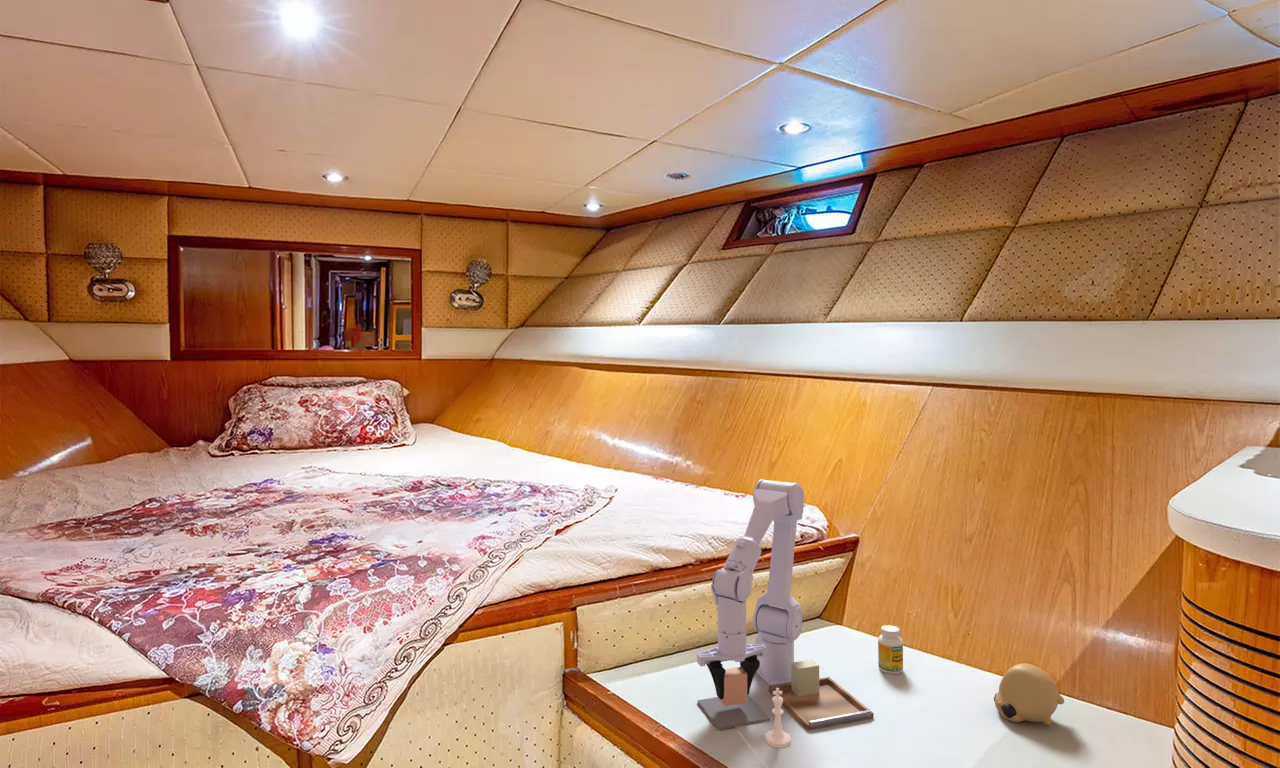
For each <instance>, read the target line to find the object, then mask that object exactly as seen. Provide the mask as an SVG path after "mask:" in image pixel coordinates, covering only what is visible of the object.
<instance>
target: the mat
mask: <svg viewBox="0 0 1280 768" xmlns="http://www.w3.org/2000/svg"><path fill="white" fill-rule="evenodd" d="M697 704H698V706H699V707H700V708H701V710H702V711H703V712H704V714H705V715H706V716H707V718H708V719H709V720H710V721H711V722H712V725H714V727H715V728H716V729H717V731H725V730H730V729H734V728H736V727H737V728H738V727H742V726H746V725H747V726H748V725H753V724H758V723H764V722H769V721H771V717H769V715H768V714H766V712H765V711H764V710H763V709H762V708H761V707H760V706H759V705H758V704H757V703H756V701H755V700H754V699H753V697H751V696H750V694H749V695H747V703H742V704H736V705H731V706H724V705H723V704H722V703H721V702H720V700H719V697H718V696H715V697H709V698H704V699H698V700H697Z"/></svg>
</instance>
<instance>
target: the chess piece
mask: <svg viewBox="0 0 1280 768" xmlns="http://www.w3.org/2000/svg"><path fill="white" fill-rule="evenodd" d="M779 694H782V691H779V688H776V691H773V695H776V696H773V695H772V698H771V700H772V703H773V708H772V710H771V713H772V714H774V723H773V729H772V730H769V731H768V732H766V733H765V735H764V741H765V743H767V744H768V745H769V746H771V747H775V748H786V747H789V745H791V744H792V737H791V735H790V734H789V733H788V732H786V731H784V730H783V726H782V724H783V723H782V717H781V715H783V714H784V709H783V708H782V706H783V705H782V702H783V698H782V697H780V696H779Z"/></svg>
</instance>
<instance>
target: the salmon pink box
mask: <svg viewBox="0 0 1280 768" xmlns="http://www.w3.org/2000/svg"><path fill="white" fill-rule="evenodd" d="M724 669H725V670H726V672H725V677H724V698H723V699H720V698H719V700H720V702H721V703H722V704H723V705H724V706H731V705H736V704H742V703H747V673H746V672H745V671H744V670H743V669H742V668H741V667H740V666H738V667H731V668H724Z"/></svg>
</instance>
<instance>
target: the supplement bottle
mask: <svg viewBox="0 0 1280 768" xmlns="http://www.w3.org/2000/svg"><path fill="white" fill-rule="evenodd" d="M900 635H901V632H900V627H898V626H895V625H890V624H887V625H882V626H881V627H880V635H879V636H878V639H877V653H878V654H877V657H878V661H877V662H878V669H879V670H880V671H881V672H883V673H885V674H890V675H899V674H901V673H902V672H903V671H904V642H903V639H902V637H901V636H900Z"/></svg>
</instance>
